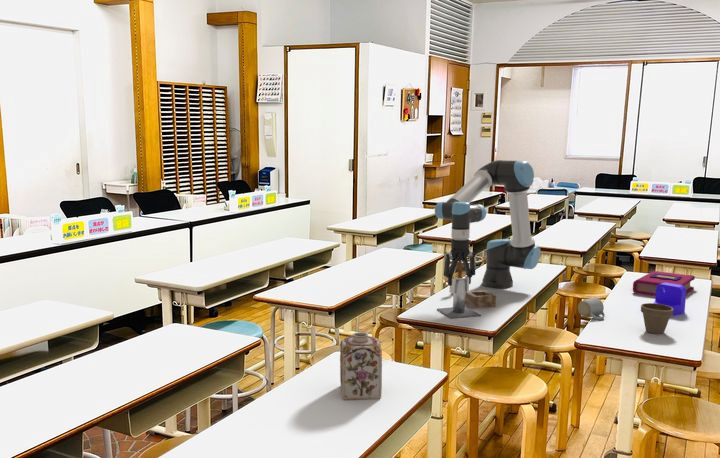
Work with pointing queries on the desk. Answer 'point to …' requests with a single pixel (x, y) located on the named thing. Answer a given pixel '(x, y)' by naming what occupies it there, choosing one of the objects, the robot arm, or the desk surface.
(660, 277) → the book
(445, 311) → the mat
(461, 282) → the plug
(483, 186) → the robot arm
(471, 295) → the bore block
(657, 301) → the bracket
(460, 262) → the hand bell
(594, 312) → the ceramic mug
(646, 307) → the flower pot
